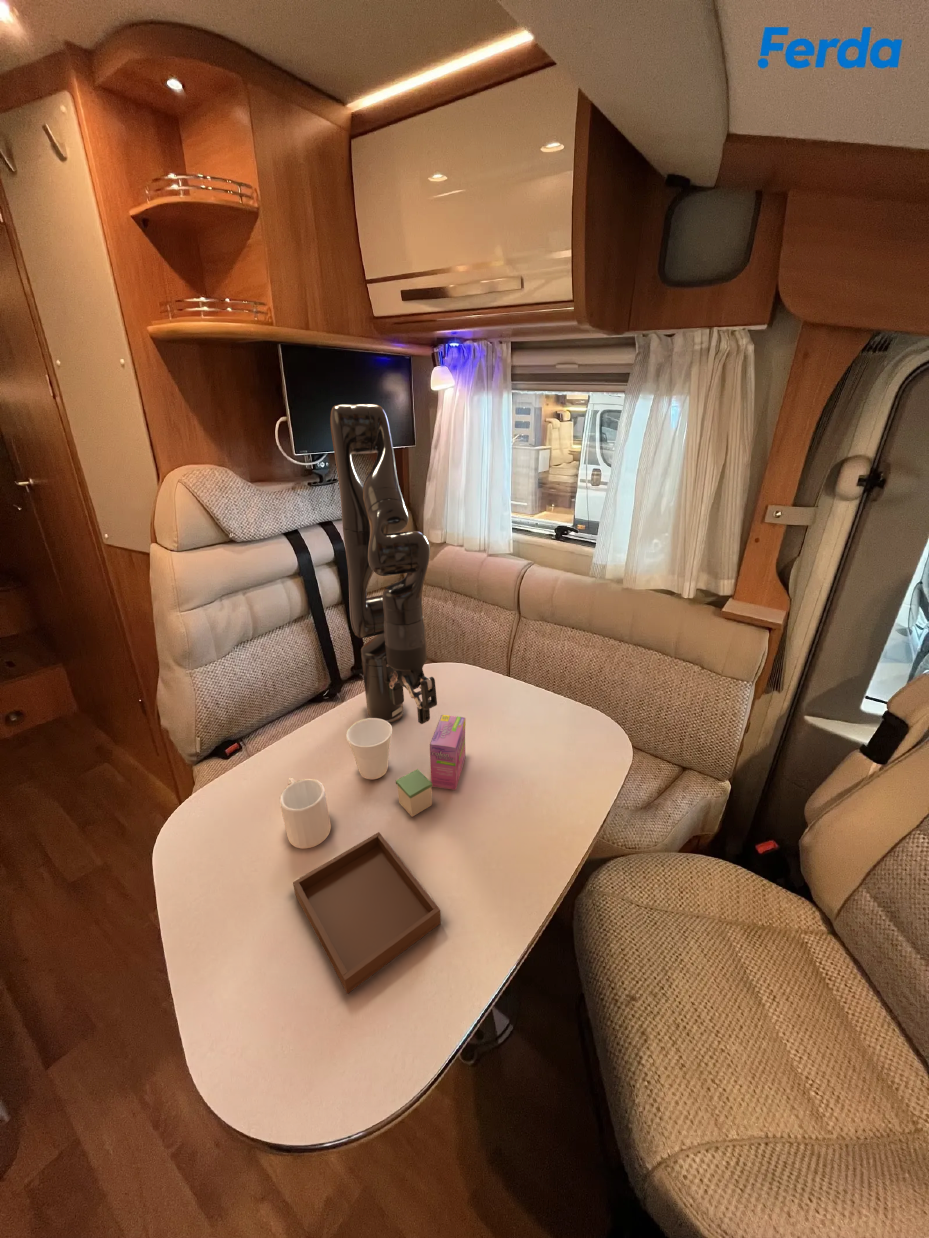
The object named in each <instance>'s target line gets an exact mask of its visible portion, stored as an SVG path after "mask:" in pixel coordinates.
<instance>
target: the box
mask: <svg viewBox="0 0 929 1238" xmlns="http://www.w3.org/2000/svg"><path fill="white" fill-rule="evenodd" d="M465 760H466V717H463V716H458V715H450V714H449V715H448V714H441V715H440V717H439V719H438V721H437V725H436V727H435V730H434V731H433V735H432V737H431V740H430V742H429V761H430V762H429V763H430V782H432V787H433V788H440V789H446V790H453V791H457V787H458V784H459V781H460V777H461V774H462V770H463V767H464V764H465ZM432 787H431V788H432Z"/></svg>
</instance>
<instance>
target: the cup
mask: <svg viewBox="0 0 929 1238" xmlns="http://www.w3.org/2000/svg"><path fill="white" fill-rule="evenodd" d="M392 735H393V726H392V725H391V723H388V722H387V721H385V720H383V719H378V718H368V717H367V718H363V719H361V720H357V721H356V722H354V723H353V724H351V726H349V728H348V729H347V731H346V733H345V738H346V740H347V742H348V743H349V746H350V749H351V752H352V754H353V757H354V760H355V764H356V765H357V769H358V772H359V774H360V776H361V777H362V778H364V779H365V780H377V779H380V778H382V777H383V776H384V775H385V774H386V773H387V772H388V768H389V758H390V757H389V756H390V748H391V739H392Z"/></svg>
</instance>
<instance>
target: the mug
mask: <svg viewBox="0 0 929 1238" xmlns="http://www.w3.org/2000/svg"><path fill="white" fill-rule="evenodd" d="M325 789H326V788H325V785H324V784H323V783H322V782H321V781H319V780H318V779H313V778H303V779H298V780H296V781H295V779H294V778H292V777H289V778H288V786H286V787H285V788H284V789H283V790H282V792H281V793H280V796H279V805H280V809H281V814H282V819H283V823H284V828H285V832H286V836H287V839H288V842H289V844H290V845H292V846H293V847H295V848H298V849H310V848H313V847H316V846H319V845H320V844H322V843H323V842H324V841H325V840H326V839H327V838H328V836H329V834H330V833H331V829H332V825H331V819H330V812H329V807H328V802H327V801H328V800H327V797H326V795H327V794H326V790H325Z"/></svg>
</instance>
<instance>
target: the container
mask: <svg viewBox="0 0 929 1238" xmlns="http://www.w3.org/2000/svg"><path fill="white" fill-rule="evenodd" d="M395 784H396V785H397V794H398V795H397V796H398V803H399V804H400V806H401V807H402V808H403V809H404V810H405V811H406V812H407V813H408V814H409V815H410V817H414V816H417V815H418V814H419V813H421V812H423V811H424V810H426V809H428V808H429V807H431V806H433V797H432V796H433V795H432V794H433V793H432V782H431V780H430V779H429V778H428V777H426V775H425V774H424V773H423V772H422V771H420V770H419V768H417V769H415V770H413V771H411V772H409V773H407V774H405V775H404V776H401V777H399V778H397V779H396V780H395Z"/></svg>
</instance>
